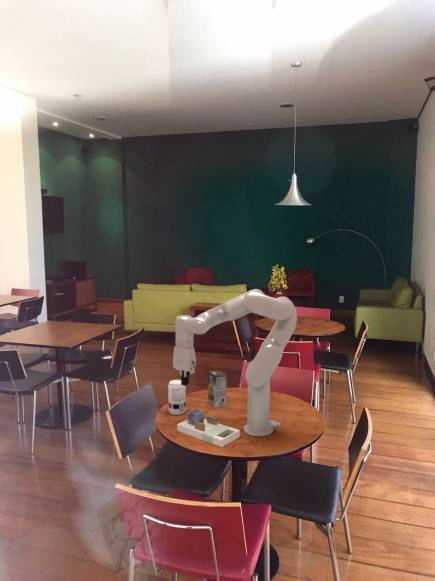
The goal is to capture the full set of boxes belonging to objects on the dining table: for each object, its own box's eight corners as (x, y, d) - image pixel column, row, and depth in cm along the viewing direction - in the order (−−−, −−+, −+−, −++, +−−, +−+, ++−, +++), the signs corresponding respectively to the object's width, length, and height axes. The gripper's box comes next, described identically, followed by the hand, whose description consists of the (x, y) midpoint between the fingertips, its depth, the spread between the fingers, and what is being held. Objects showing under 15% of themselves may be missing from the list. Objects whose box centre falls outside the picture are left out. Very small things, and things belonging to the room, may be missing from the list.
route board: (239, 437, 197) (239, 423, 196) (221, 447, 187) (221, 433, 187) (195, 422, 212) (195, 409, 212) (177, 430, 203) (176, 417, 203)
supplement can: (165, 413, 223) (164, 383, 221) (174, 407, 230) (174, 378, 228) (179, 416, 219) (179, 385, 217) (188, 410, 226) (188, 380, 224)
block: (203, 422, 204) (203, 411, 204) (196, 426, 201) (196, 415, 200) (195, 419, 208) (195, 409, 207) (187, 423, 204) (187, 412, 203)
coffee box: (207, 401, 238) (207, 371, 236) (219, 399, 241) (218, 369, 239) (215, 407, 230) (214, 375, 228) (226, 405, 232) (226, 374, 230)
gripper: (166, 342, 206) (167, 383, 208) (191, 348, 196) (191, 390, 198) (178, 339, 211) (178, 379, 214) (203, 344, 202) (203, 386, 204)
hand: (185, 384), depth 206 cm, fingers closed
